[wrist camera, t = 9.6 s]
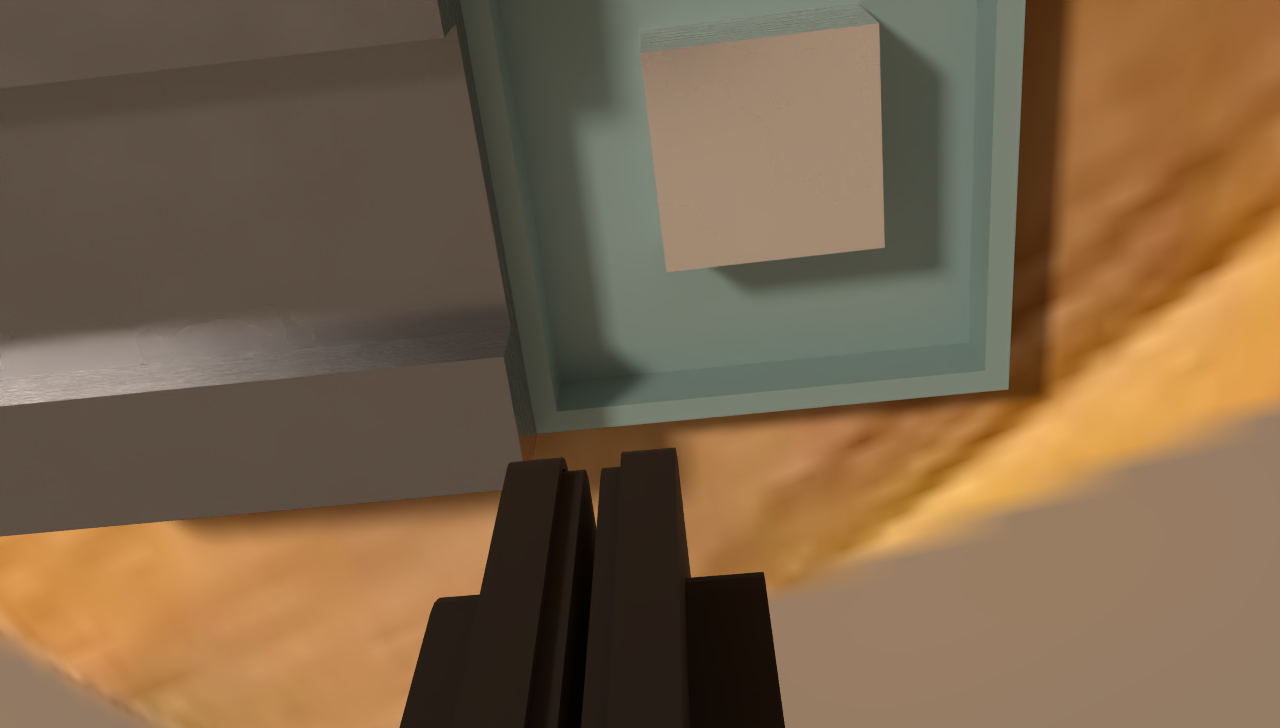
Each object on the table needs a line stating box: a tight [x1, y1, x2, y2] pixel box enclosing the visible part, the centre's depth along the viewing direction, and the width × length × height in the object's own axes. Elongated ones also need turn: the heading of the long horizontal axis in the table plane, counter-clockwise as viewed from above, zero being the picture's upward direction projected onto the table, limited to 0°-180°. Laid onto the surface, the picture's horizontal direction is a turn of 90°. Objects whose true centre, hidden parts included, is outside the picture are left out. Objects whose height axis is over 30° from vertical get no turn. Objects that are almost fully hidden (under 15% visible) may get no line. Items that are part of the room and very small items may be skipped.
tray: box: [460, 0, 1026, 434], centre depth 26 cm, size 12×14×2 cm
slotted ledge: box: [0, 0, 537, 536], centre depth 26 cm, size 14×14×4 cm
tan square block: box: [640, 3, 885, 272], centre depth 26 cm, size 5×5×2 cm
